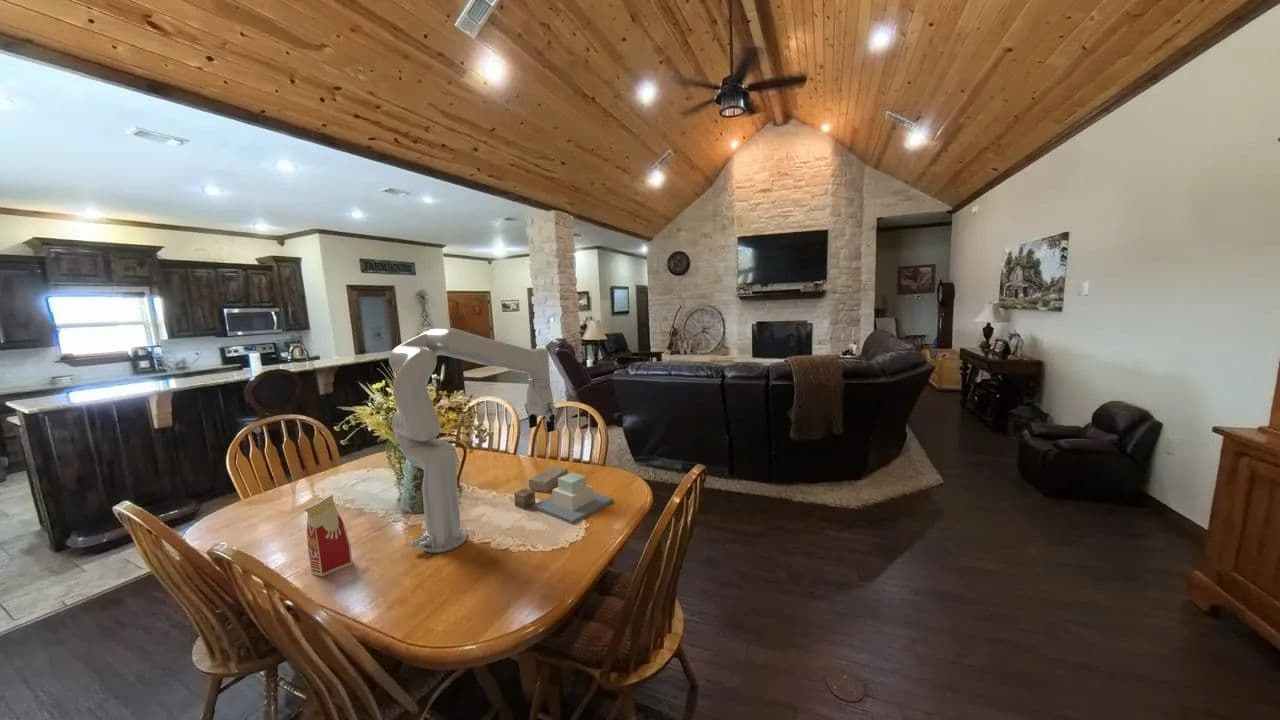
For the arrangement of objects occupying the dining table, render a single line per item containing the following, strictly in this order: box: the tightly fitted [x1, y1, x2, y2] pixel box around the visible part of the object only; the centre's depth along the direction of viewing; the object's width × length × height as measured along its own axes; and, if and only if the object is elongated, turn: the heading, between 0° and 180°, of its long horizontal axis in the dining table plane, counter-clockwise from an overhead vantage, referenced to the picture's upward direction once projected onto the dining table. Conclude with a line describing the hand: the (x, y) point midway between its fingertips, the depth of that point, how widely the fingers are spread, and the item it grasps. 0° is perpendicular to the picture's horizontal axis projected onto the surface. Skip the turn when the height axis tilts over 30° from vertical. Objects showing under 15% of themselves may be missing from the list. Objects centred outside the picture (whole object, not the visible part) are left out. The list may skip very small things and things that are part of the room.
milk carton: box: [302, 493, 353, 577], centre depth 124 cm, size 9×9×20 cm
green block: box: [557, 471, 588, 494], centre depth 157 cm, size 7×7×4 cm
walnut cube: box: [513, 487, 536, 511], centre depth 159 cm, size 5×5×5 cm
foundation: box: [531, 484, 614, 525], centre depth 158 cm, size 20×20×6 cm
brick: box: [528, 465, 569, 493], centre depth 178 cm, size 17×8×5 cm, turn 157°
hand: (542, 429), depth 163 cm, fingers open, 9 cm apart
